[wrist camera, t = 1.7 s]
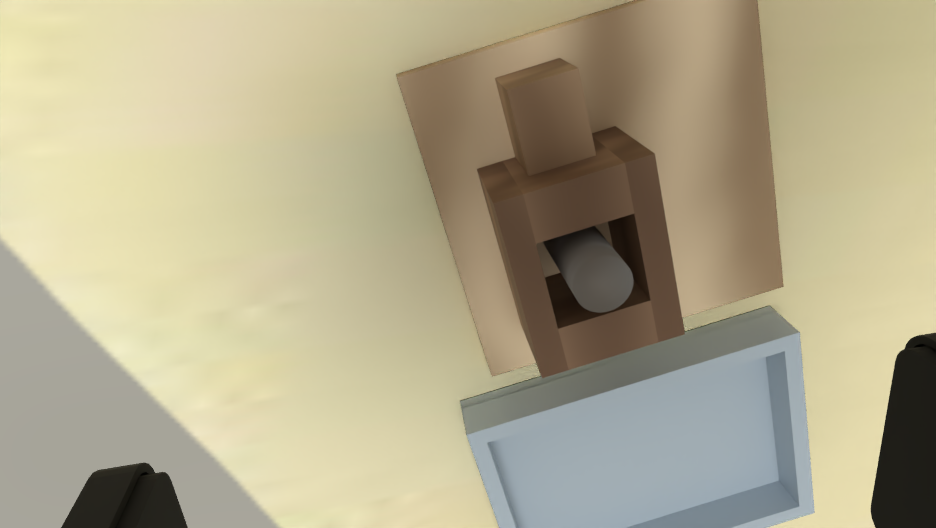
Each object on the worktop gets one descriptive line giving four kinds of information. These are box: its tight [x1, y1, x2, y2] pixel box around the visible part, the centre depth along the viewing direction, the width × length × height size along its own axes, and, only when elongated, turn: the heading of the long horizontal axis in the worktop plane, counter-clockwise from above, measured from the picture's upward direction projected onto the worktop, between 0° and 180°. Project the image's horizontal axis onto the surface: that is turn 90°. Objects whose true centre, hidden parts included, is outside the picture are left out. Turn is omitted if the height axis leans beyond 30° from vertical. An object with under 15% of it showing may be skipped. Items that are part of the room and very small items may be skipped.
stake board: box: [396, 0, 783, 376], centre depth 25 cm, size 13×13×6 cm
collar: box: [477, 58, 685, 378], centre depth 25 cm, size 5×10×4 cm, turn 16°
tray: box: [460, 306, 815, 528], centre depth 32 cm, size 14×10×2 cm
